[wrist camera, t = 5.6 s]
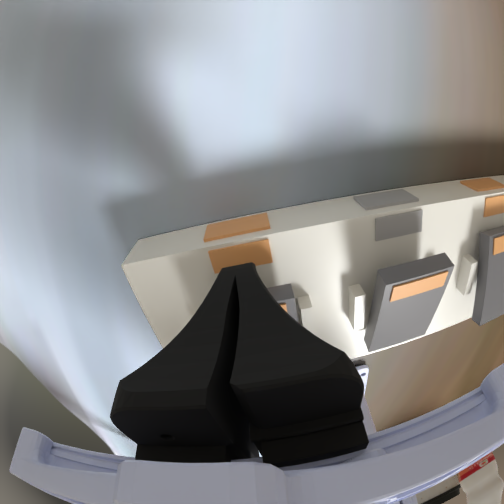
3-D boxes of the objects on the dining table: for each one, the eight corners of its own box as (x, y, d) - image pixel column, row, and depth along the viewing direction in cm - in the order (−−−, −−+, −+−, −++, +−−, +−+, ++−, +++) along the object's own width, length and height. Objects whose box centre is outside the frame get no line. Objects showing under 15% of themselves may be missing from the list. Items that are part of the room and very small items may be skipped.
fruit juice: (439, 448, 43) (467, 534, 18) (452, 433, 39) (487, 529, 14) (468, 432, 43) (499, 513, 18) (483, 415, 38) (520, 504, 14)
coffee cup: (426, 445, 39) (446, 500, 26) (385, 459, 39) (402, 520, 26) (447, 423, 34) (473, 486, 21) (403, 440, 34) (425, 511, 21)
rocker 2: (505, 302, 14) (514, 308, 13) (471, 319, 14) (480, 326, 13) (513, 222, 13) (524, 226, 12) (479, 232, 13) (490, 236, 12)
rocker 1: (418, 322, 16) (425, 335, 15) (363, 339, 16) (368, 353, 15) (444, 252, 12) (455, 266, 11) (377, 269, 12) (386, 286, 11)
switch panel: (496, 278, 19) (520, 302, 15) (190, 355, 21) (184, 397, 17) (514, 172, 14) (548, 189, 11) (137, 237, 16) (112, 273, 12)
